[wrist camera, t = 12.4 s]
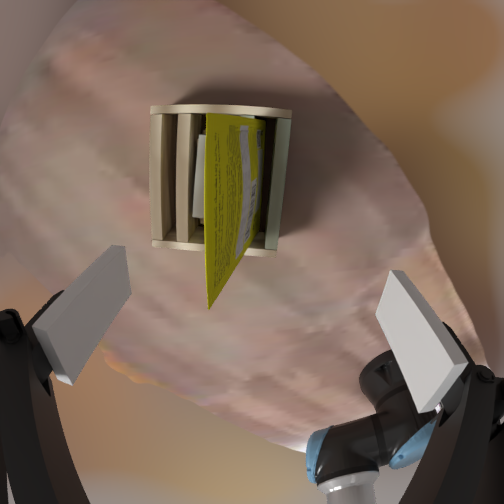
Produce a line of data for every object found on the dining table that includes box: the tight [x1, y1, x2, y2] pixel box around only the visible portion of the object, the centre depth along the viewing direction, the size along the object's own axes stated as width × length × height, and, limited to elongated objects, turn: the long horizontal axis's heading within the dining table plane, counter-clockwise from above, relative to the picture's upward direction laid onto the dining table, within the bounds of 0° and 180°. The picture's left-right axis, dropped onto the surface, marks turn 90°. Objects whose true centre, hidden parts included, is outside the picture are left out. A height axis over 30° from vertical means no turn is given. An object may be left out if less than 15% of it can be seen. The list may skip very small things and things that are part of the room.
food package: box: [204, 112, 266, 310], centre depth 28 cm, size 15×1×20 cm, turn 177°
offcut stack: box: [192, 130, 206, 224], centre depth 35 cm, size 5×12×6 cm, turn 176°
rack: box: [149, 104, 292, 258], centre depth 35 cm, size 16×18×6 cm
